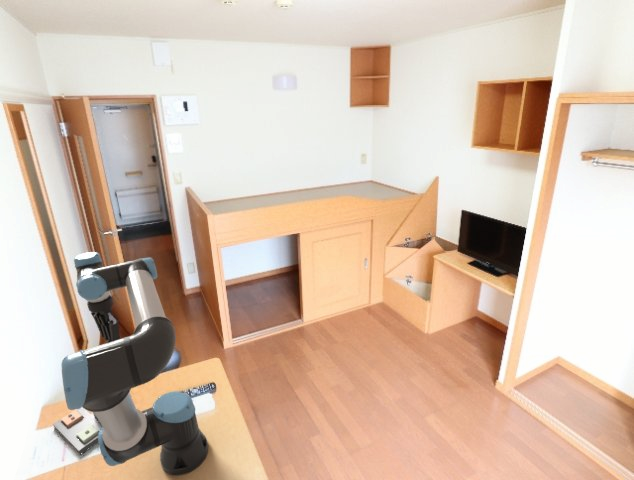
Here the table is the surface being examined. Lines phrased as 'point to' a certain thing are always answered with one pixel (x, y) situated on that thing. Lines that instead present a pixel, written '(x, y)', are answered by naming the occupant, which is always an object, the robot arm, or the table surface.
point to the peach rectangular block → (71, 419)
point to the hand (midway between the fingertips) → (115, 354)
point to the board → (72, 431)
